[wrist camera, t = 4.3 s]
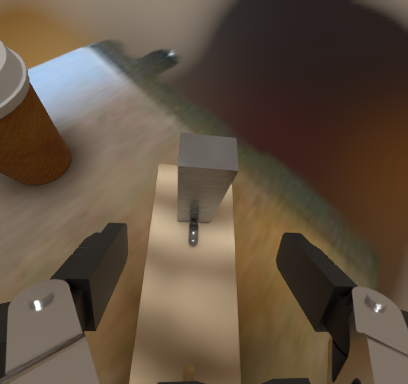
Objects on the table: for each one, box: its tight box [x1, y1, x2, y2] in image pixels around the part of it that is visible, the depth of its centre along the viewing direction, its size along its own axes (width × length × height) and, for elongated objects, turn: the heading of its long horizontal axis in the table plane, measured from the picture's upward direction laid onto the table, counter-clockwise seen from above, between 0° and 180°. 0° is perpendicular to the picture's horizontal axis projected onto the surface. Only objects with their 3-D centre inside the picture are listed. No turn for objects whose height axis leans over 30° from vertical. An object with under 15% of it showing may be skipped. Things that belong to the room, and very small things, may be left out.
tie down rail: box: [129, 164, 241, 384], centre depth 19 cm, size 22×9×4 cm, turn 179°
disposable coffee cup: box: [0, 41, 71, 185], centre depth 18 cm, size 10×10×12 cm
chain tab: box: [177, 133, 238, 246], centre depth 17 cm, size 9×4×11 cm, turn 179°
